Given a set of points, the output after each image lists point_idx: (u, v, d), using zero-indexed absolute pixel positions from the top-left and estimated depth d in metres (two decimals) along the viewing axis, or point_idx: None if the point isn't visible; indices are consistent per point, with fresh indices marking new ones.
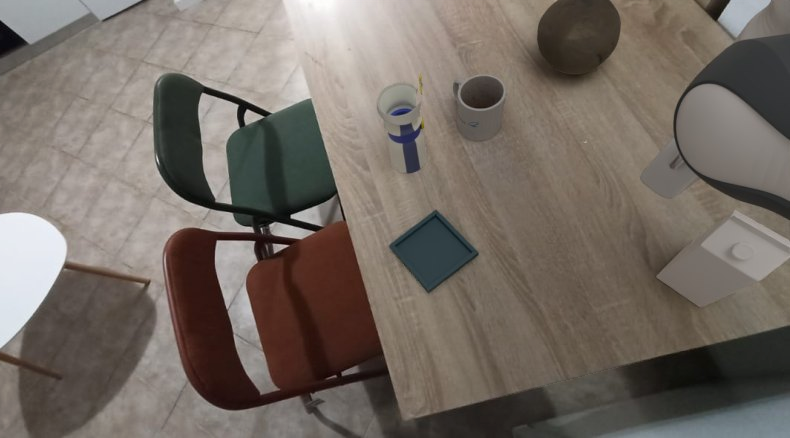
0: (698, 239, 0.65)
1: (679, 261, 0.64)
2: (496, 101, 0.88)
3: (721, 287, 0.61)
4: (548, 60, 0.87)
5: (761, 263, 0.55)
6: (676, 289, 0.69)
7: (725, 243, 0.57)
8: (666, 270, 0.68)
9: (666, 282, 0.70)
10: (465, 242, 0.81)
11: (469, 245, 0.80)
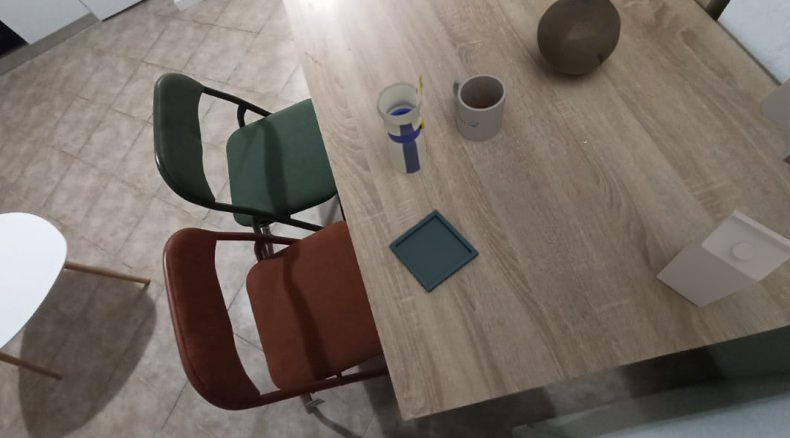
0: (698, 239, 0.65)
1: (679, 261, 0.64)
2: (496, 101, 0.88)
3: (721, 287, 0.61)
4: (548, 60, 0.87)
5: (761, 263, 0.55)
6: (676, 289, 0.69)
7: (725, 243, 0.57)
8: (666, 270, 0.68)
9: (666, 282, 0.70)
10: (465, 242, 0.81)
11: (469, 245, 0.80)
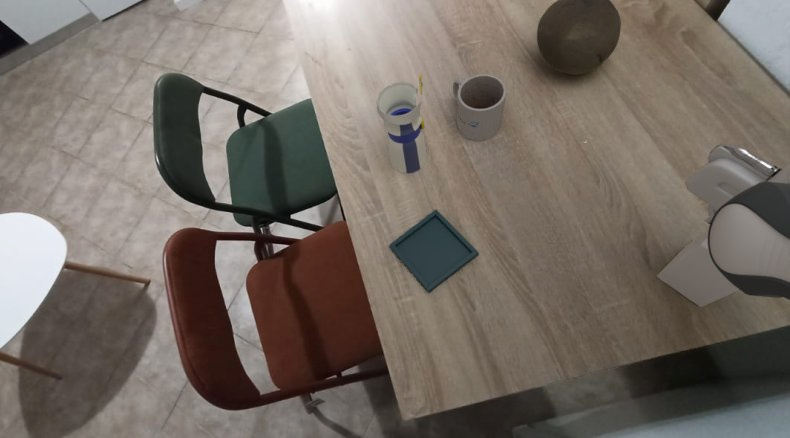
0: (698, 239, 0.65)
1: (679, 261, 0.64)
2: (496, 101, 0.88)
3: (722, 286, 0.61)
4: (548, 60, 0.87)
5: None
6: (677, 289, 0.69)
7: None
8: (666, 270, 0.68)
9: (666, 282, 0.70)
10: (465, 242, 0.81)
11: (469, 245, 0.80)
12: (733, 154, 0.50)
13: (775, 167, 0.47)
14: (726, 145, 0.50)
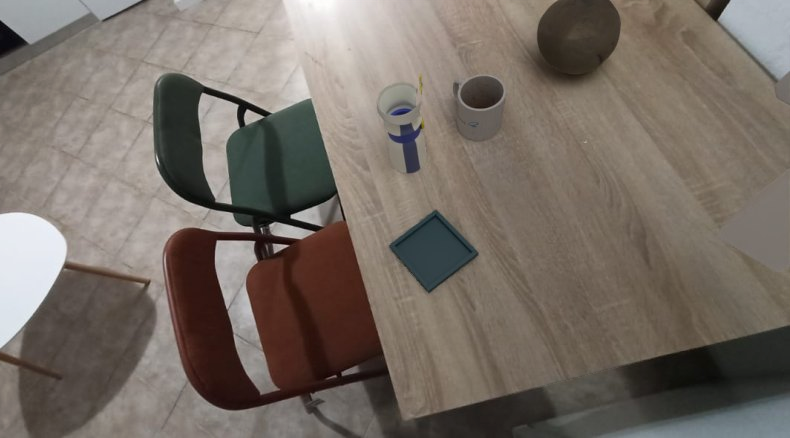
0: (778, 179, 0.49)
1: (754, 207, 0.48)
2: (496, 101, 0.88)
3: None
4: (548, 60, 0.87)
5: None
6: (743, 249, 0.53)
7: None
8: (732, 223, 0.52)
9: (729, 241, 0.54)
10: (465, 242, 0.81)
11: (469, 245, 0.80)
12: None
13: None
14: None
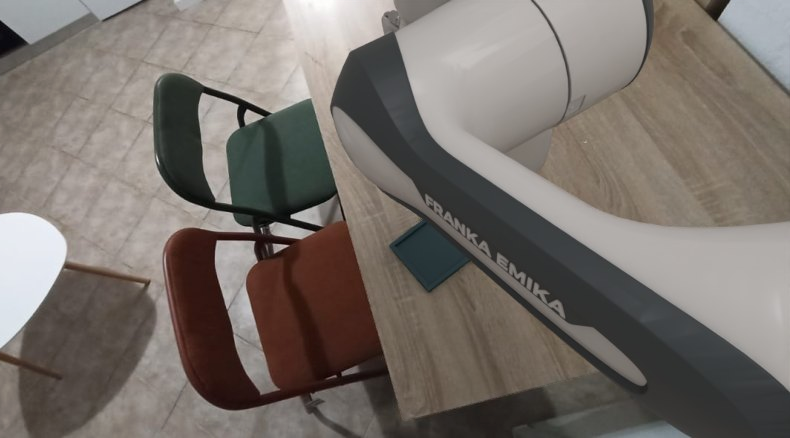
0: None
1: None
2: None
3: None
4: None
5: None
6: None
7: None
8: None
9: None
10: None
11: None
12: (392, 22, 0.43)
13: None
14: (385, 13, 0.43)
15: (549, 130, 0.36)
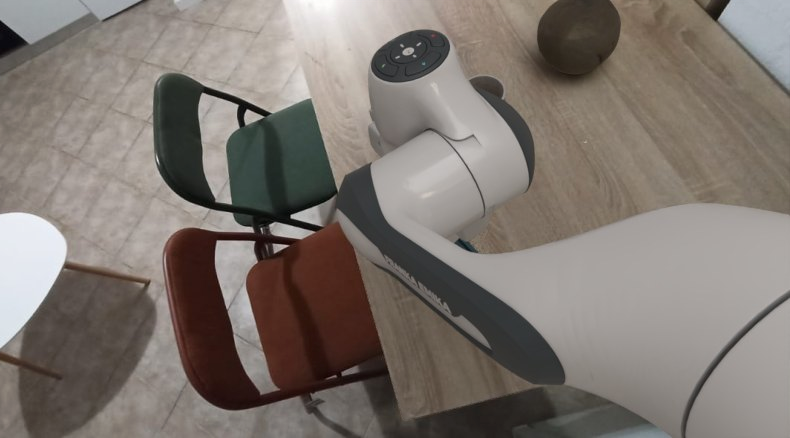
0: None
1: None
2: None
3: None
4: (548, 60, 0.87)
5: None
6: None
7: None
8: None
9: None
10: (465, 242, 0.81)
11: (469, 245, 0.80)
12: None
13: None
14: None
15: None
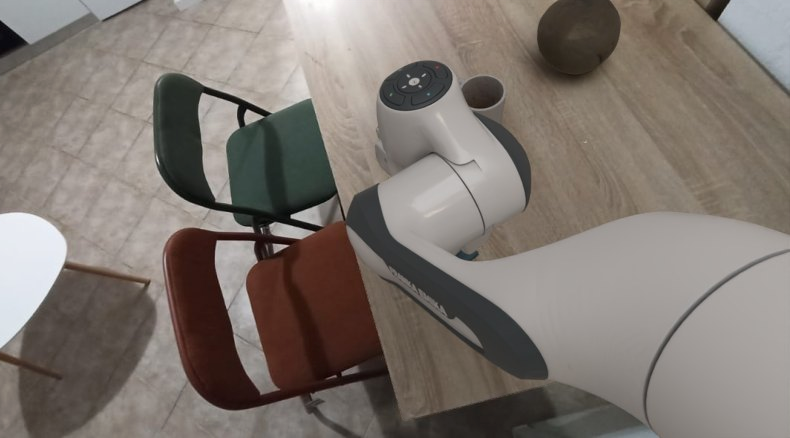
0: None
1: None
2: (496, 101, 0.88)
3: None
4: (548, 60, 0.87)
5: None
6: None
7: None
8: None
9: None
10: None
11: None
12: None
13: None
14: (378, 127, 0.61)
15: None
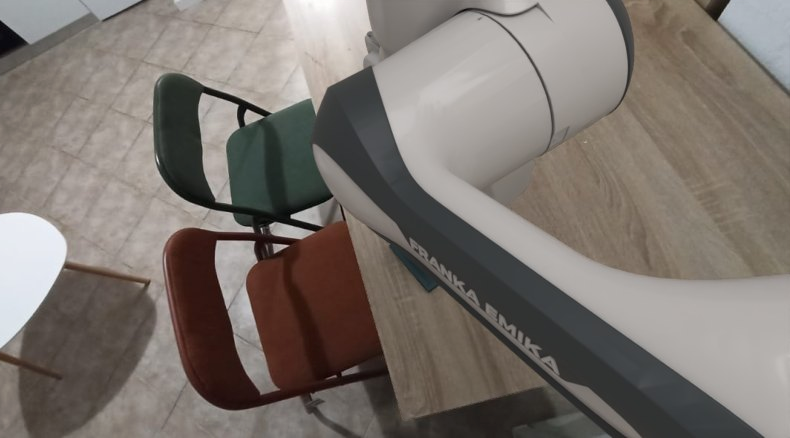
0: None
1: None
2: None
3: None
4: None
5: None
6: None
7: None
8: None
9: None
10: None
11: None
12: (375, 42, 0.42)
13: None
14: (368, 32, 0.43)
15: None
